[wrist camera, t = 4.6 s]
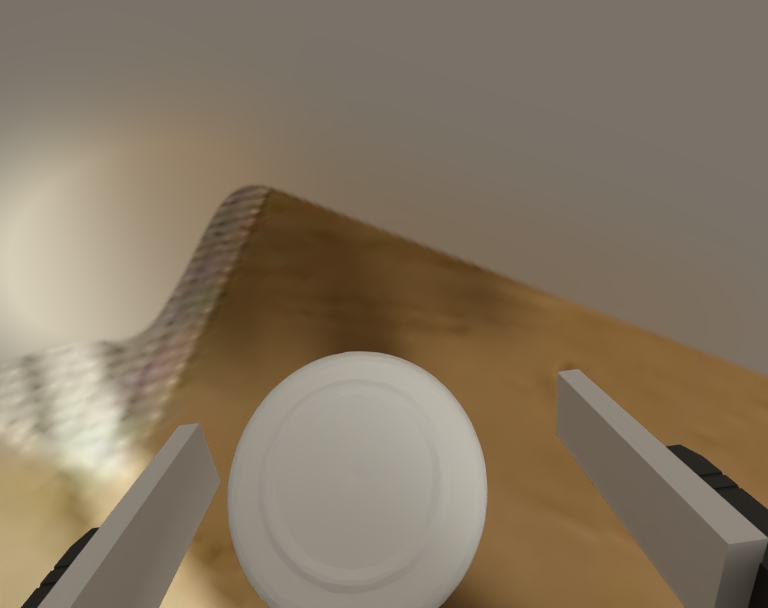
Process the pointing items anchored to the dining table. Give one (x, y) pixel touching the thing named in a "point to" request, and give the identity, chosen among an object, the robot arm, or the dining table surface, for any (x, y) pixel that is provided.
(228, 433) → the dining table surface
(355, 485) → the sprinkles bottle
